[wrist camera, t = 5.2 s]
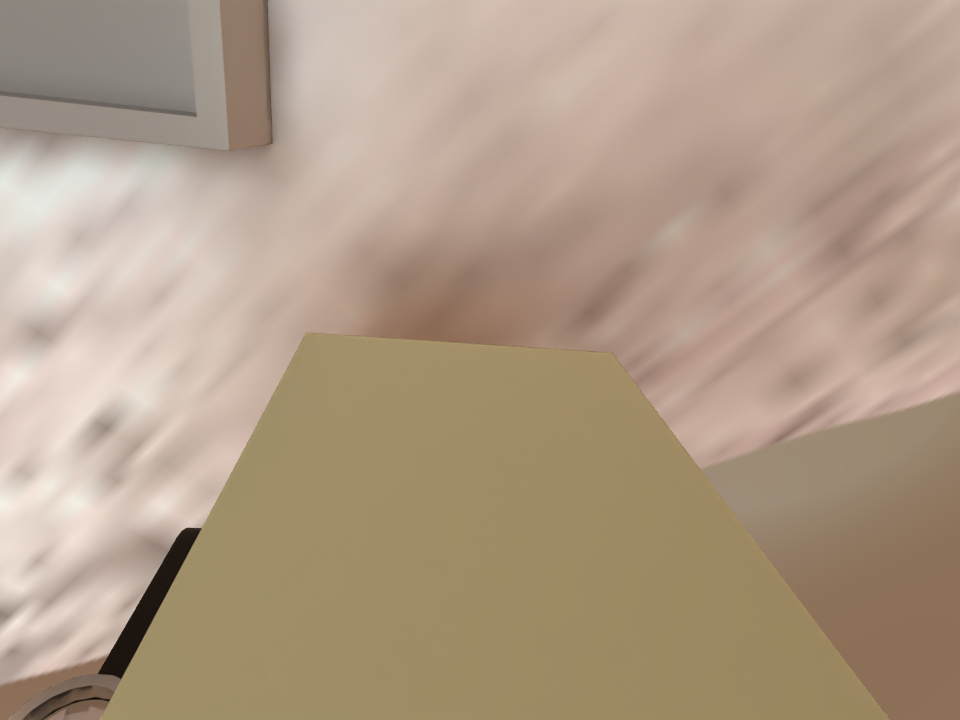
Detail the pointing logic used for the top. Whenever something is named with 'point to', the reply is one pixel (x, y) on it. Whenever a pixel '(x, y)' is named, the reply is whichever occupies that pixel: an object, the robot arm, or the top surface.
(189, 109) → the tub
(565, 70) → the top surface
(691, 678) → the pale yellow block
